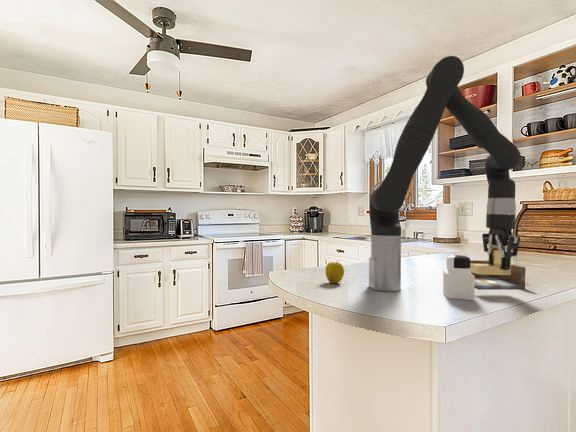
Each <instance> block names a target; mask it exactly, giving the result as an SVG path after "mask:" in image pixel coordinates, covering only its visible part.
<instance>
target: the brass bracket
mask: <svg viewBox="0 0 576 432" xmlns="http://www.w3.org/2000/svg"><path fill="white" fill-rule="evenodd" d="M506 251H507V250H505V253H506ZM501 257H502V255H501V251H500V250H492V264H472V263H470V271H469V272H472V273H475V274H483V275H511V264H512V258H511V259H510V269H509V270H502V269H501Z"/></svg>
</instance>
